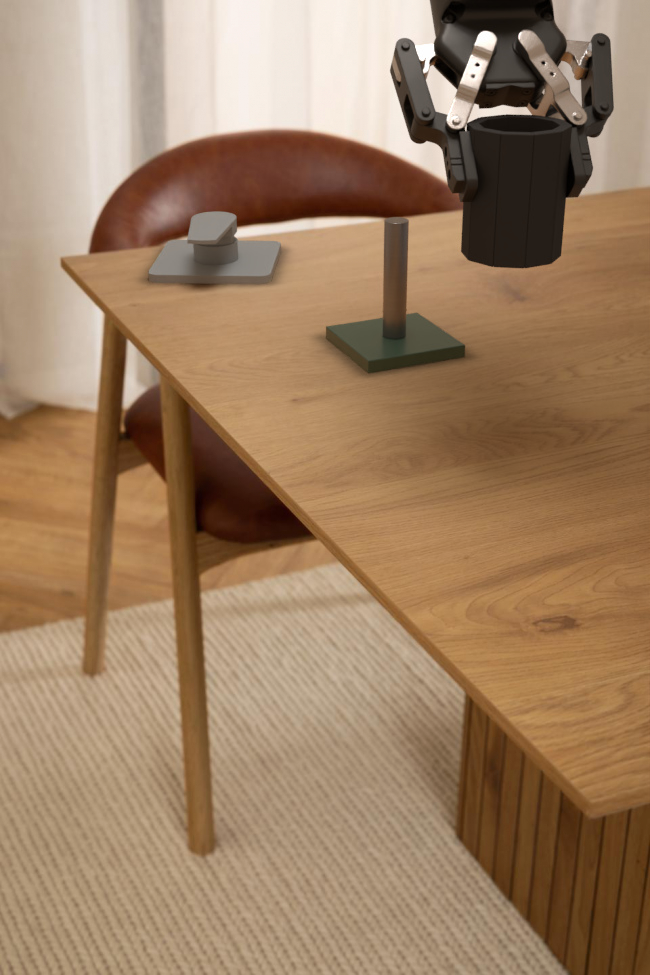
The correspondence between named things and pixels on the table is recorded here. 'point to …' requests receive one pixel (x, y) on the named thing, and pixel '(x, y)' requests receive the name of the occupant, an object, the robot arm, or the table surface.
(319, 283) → the table surface
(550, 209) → the faceted pencil cup
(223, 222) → the shower valve
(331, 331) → the holder
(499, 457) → the table surface
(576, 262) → the table surface
